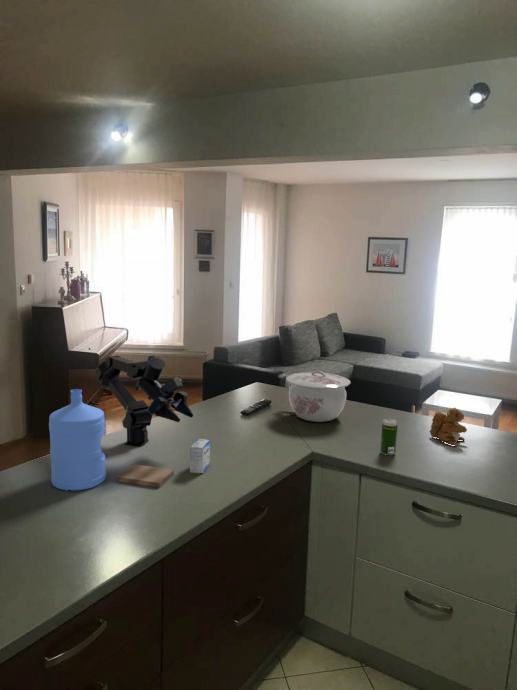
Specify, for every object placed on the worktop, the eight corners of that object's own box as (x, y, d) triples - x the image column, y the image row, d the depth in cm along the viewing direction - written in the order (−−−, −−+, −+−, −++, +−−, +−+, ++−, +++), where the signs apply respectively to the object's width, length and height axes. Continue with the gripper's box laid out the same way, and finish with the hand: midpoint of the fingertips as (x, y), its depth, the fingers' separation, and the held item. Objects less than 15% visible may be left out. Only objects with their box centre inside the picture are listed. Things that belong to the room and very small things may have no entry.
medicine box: (202, 474, 165) (203, 448, 164) (189, 472, 166) (189, 446, 165) (210, 464, 173) (210, 439, 171) (197, 463, 174) (197, 438, 172)
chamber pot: (353, 428, 212) (356, 379, 209) (285, 426, 213) (287, 376, 209) (343, 408, 240) (345, 364, 236) (283, 406, 240) (284, 362, 237)
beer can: (398, 455, 185) (401, 422, 183) (385, 457, 184) (387, 424, 182) (389, 449, 190) (392, 418, 188) (377, 451, 189) (379, 419, 186)
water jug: (75, 497, 148) (71, 401, 143) (40, 483, 156) (35, 391, 151) (117, 477, 161) (115, 389, 156) (82, 465, 169) (80, 381, 164)
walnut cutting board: (117, 481, 158) (117, 476, 158) (133, 468, 168) (133, 464, 168) (159, 487, 155) (159, 483, 155) (173, 474, 164) (173, 470, 164)
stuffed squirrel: (456, 448, 194) (459, 414, 192) (422, 437, 204) (424, 405, 202) (469, 442, 200) (472, 409, 198) (435, 432, 211) (438, 400, 209)
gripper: (151, 373, 169) (185, 404, 165) (179, 368, 187) (211, 396, 183) (133, 399, 172) (167, 430, 168) (163, 392, 189) (194, 421, 186)
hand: (186, 418), depth 176 cm, fingers open, 9 cm apart
